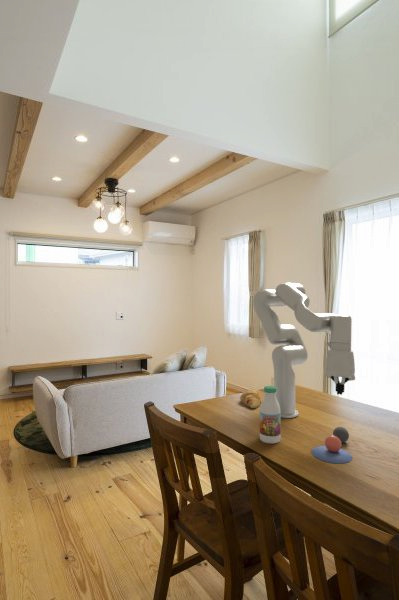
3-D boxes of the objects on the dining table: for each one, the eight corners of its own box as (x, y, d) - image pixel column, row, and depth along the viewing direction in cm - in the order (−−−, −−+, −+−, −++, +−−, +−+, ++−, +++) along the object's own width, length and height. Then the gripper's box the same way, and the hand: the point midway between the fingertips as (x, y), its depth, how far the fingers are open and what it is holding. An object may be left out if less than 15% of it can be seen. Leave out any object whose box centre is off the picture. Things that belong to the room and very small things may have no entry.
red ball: (328, 447, 125) (325, 455, 120) (324, 432, 125) (321, 440, 120) (344, 447, 122) (342, 455, 117) (340, 432, 122) (337, 439, 117)
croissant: (259, 417, 166) (267, 402, 166) (241, 407, 166) (249, 392, 166) (252, 402, 188) (259, 389, 187) (235, 394, 187) (242, 381, 187)
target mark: (307, 457, 116) (307, 456, 116) (316, 443, 127) (316, 443, 127) (349, 467, 110) (349, 466, 110) (354, 451, 121) (354, 451, 121)
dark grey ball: (336, 424, 133) (333, 439, 132) (332, 424, 129) (329, 439, 128) (351, 429, 130) (348, 444, 129) (348, 429, 125) (345, 445, 125)
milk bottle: (257, 436, 134) (257, 384, 134) (276, 435, 135) (277, 384, 135) (262, 444, 127) (262, 390, 126) (283, 443, 127) (283, 389, 127)
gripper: (318, 346, 135) (317, 393, 135) (360, 349, 127) (359, 399, 127) (322, 343, 141) (321, 388, 142) (362, 347, 133) (362, 394, 134)
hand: (339, 393), depth 134 cm, fingers closed
